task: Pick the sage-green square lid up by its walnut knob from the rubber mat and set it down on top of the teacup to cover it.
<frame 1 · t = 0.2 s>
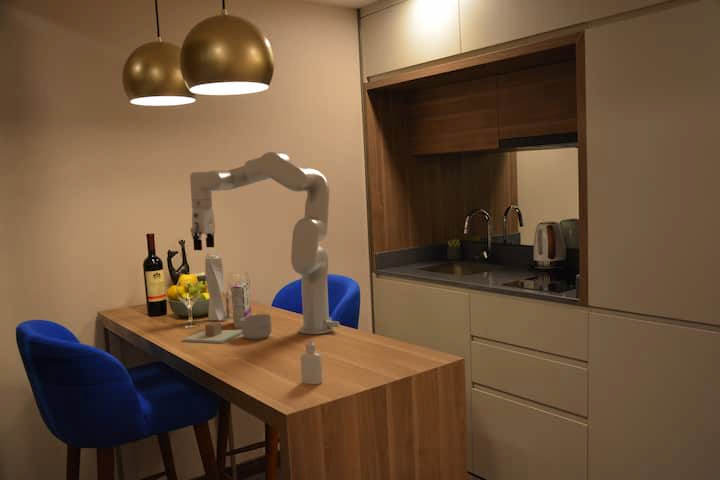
hand: (204, 248, 245), 31 cm above the table, fingers open, 9 cm apart
eye dropper bottle: (312, 383, 174), on the table
mat: (213, 338, 228), on the table
teacup: (259, 338, 227), on the table
skyscraper: (218, 320, 260), on the table
candy bar box: (242, 326, 247), on the table
lid: (213, 336, 228), point 1 cm above the table, touching mat
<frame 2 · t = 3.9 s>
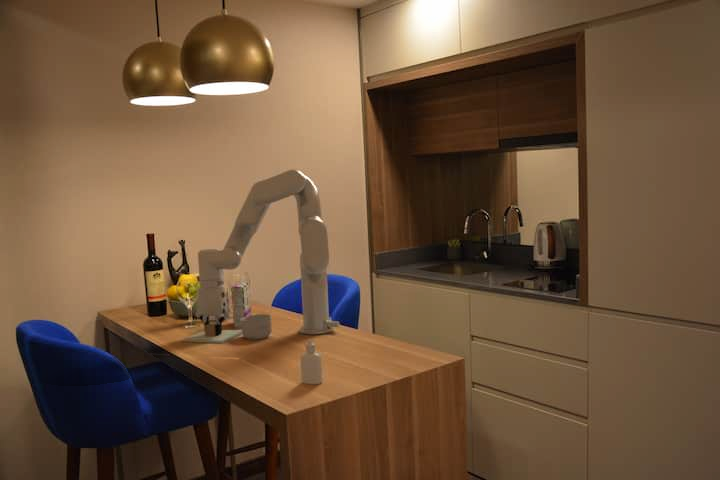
hand: (213, 333, 228), 2 cm above the table, fingers closed on lid, 3 cm apart
lid: (213, 336, 228), point 1 cm above the table, touching gripper, mat
everything else where it was.
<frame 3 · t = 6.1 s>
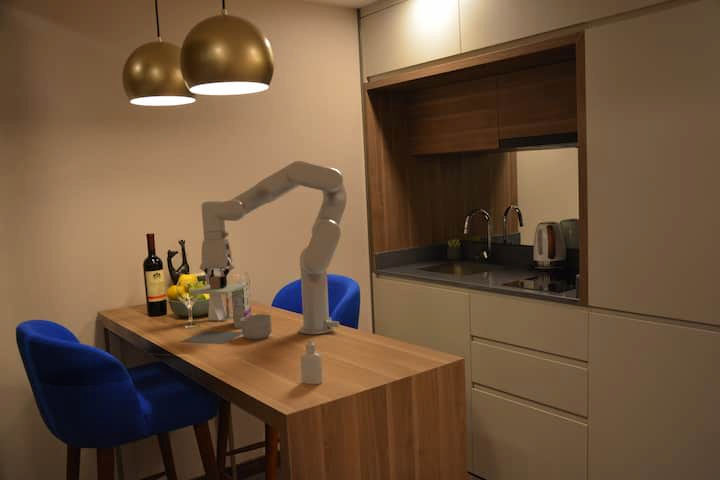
hand: (218, 286, 227), 19 cm above the table, fingers closed on lid, 3 cm apart
lid: (218, 289, 227), point 18 cm above the table, touching gripper
everything else where it was.
when the fingers open (11 cm above the table, at t = 8.8 s): lid drops 2 cm, resting on teacup.
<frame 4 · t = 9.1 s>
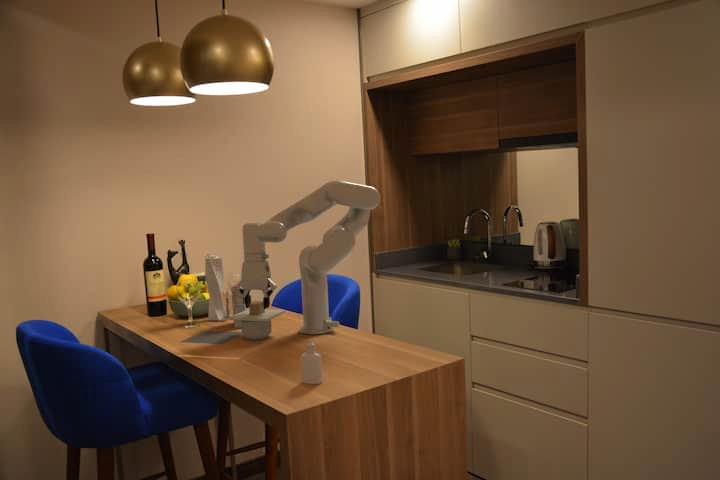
hand: (257, 307, 226), 11 cm above the table, fingers open, 6 cm apart
teacup: (258, 338, 227), on the table, touching lid
lid: (257, 316, 226), point 8 cm above the table, touching teacup
everything else where it was.
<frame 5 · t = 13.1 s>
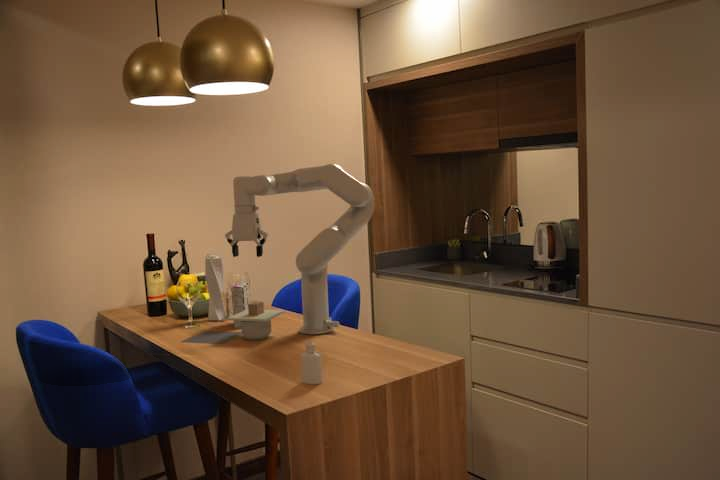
hand: (247, 256, 234), 28 cm above the table, fingers open, 9 cm apart
nothing on the table moved.
at the end: lid 0.5 cm from the teacup (horizontally); lid point 7.9 cm above the table; lid tilted 0° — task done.
